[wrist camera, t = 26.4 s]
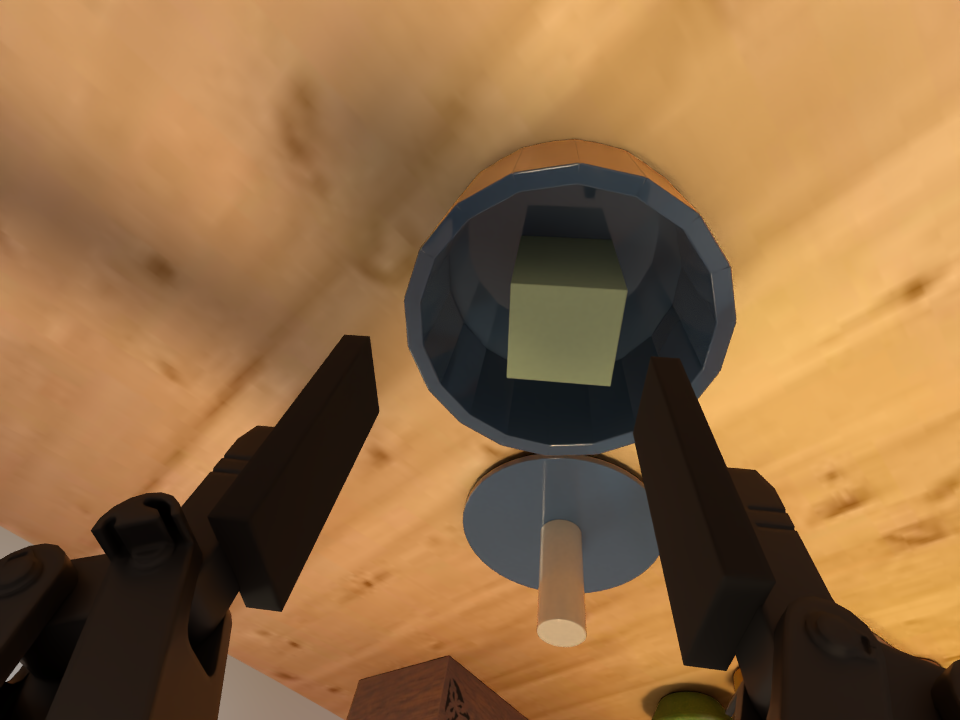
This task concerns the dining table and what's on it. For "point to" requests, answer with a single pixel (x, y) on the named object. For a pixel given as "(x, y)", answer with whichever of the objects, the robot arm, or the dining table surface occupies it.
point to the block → (565, 310)
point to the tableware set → (700, 703)
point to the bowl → (487, 280)
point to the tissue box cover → (428, 695)
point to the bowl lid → (561, 533)
